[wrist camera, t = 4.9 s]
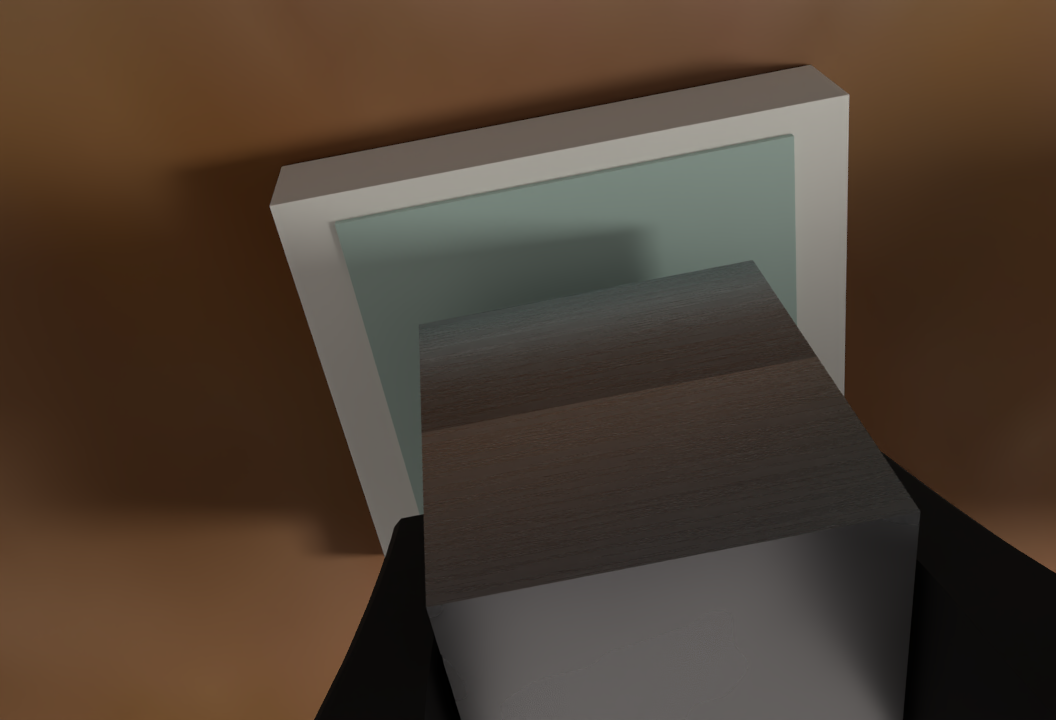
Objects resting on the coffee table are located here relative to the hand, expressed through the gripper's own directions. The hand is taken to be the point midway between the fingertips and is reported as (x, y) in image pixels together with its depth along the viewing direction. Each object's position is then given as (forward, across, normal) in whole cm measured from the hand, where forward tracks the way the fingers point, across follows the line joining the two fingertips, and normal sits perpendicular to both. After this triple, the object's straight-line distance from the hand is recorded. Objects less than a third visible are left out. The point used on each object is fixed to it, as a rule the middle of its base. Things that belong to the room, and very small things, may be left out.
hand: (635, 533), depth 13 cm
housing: (+2, 0, 0) cm, 2 cm away
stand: (+5, 0, 0) cm, 5 cm away
